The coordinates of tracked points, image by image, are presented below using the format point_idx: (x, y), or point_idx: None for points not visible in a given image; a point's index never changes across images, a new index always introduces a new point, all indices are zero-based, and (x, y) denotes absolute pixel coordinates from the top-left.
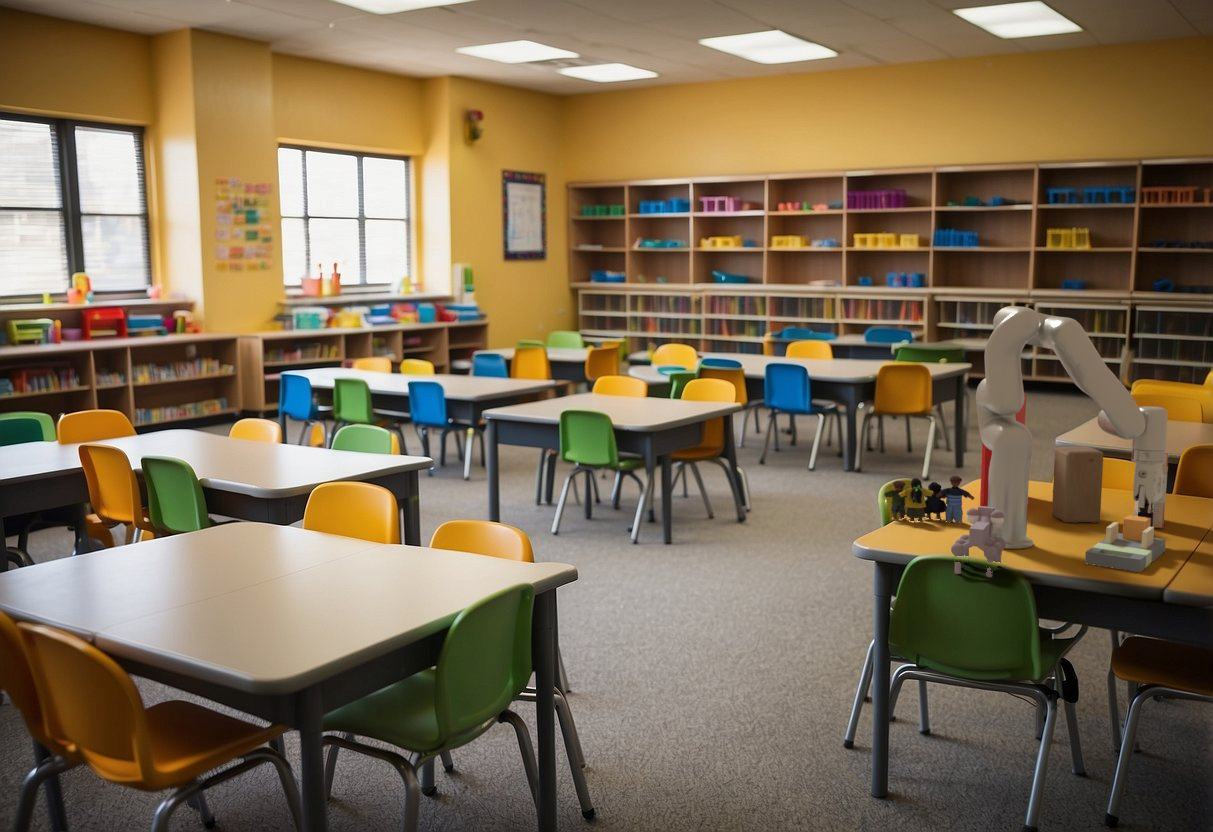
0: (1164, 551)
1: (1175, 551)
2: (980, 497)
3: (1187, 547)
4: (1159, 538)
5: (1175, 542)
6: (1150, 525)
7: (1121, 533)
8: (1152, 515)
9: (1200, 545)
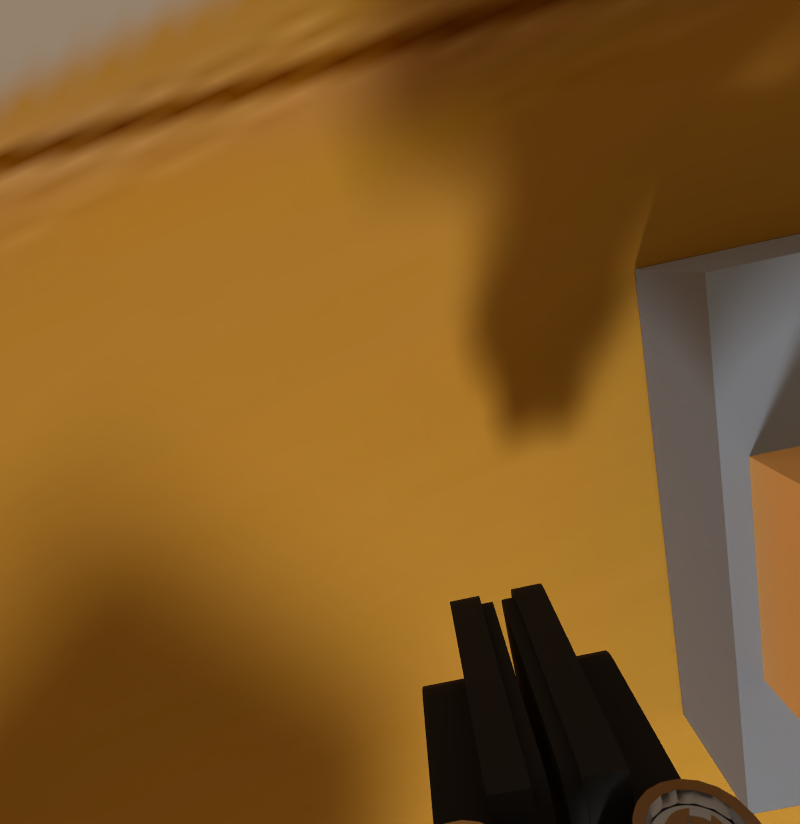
0: (664, 263)
1: (557, 188)
2: None
3: (266, 179)
4: (710, 353)
5: (150, 375)
6: (552, 611)
7: (748, 746)
8: (521, 736)
9: (44, 116)
